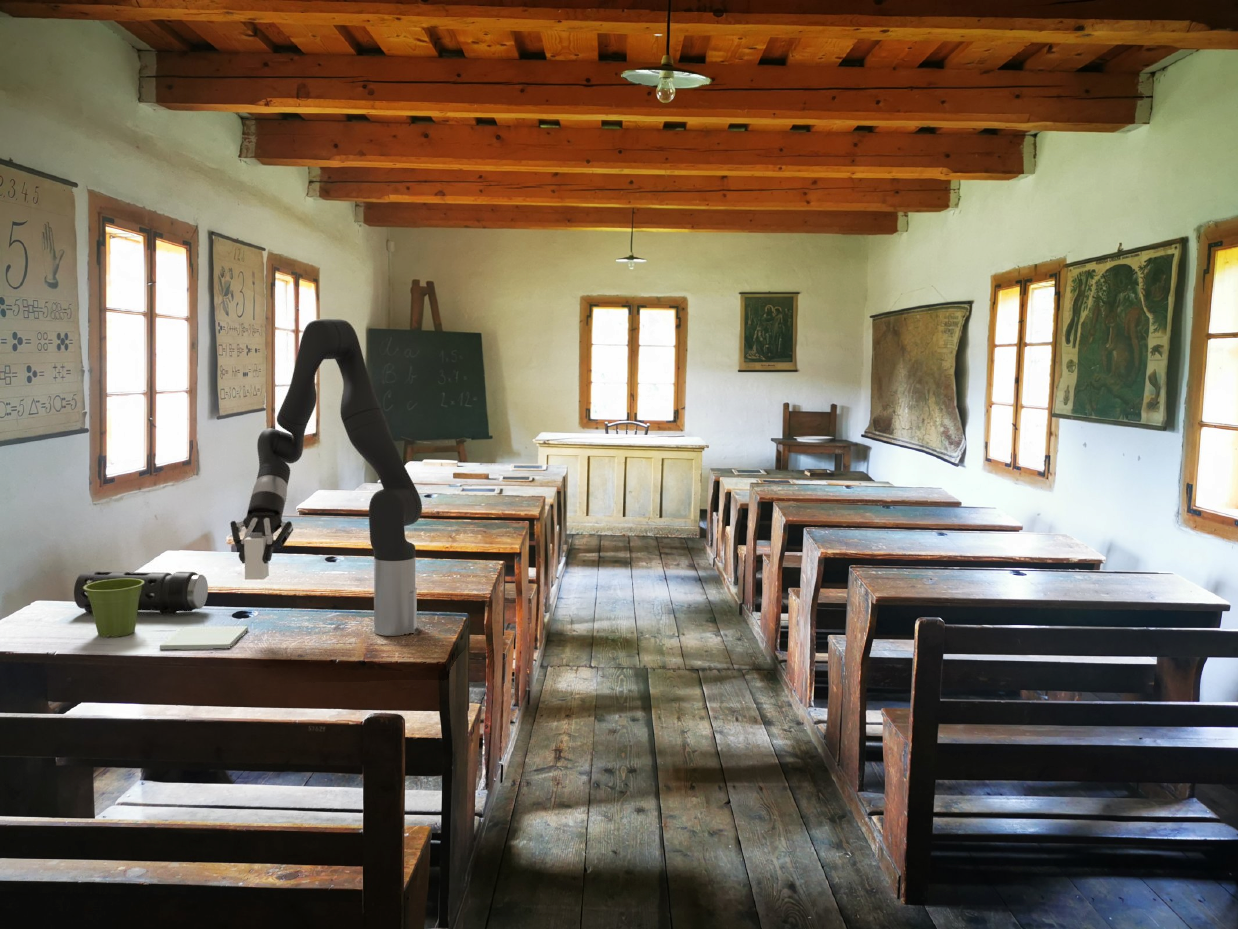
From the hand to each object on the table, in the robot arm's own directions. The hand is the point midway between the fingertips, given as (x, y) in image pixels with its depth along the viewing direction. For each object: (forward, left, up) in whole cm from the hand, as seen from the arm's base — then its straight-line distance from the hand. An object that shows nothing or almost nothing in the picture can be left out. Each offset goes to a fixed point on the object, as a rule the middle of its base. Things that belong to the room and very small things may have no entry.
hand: (254, 561), depth 199 cm
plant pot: (+31, -4, -17) cm, 36 cm away
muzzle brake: (+32, -22, -17) cm, 43 cm away
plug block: (0, -2, -4) cm, 5 cm away
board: (+10, +2, -17) cm, 20 cm away
